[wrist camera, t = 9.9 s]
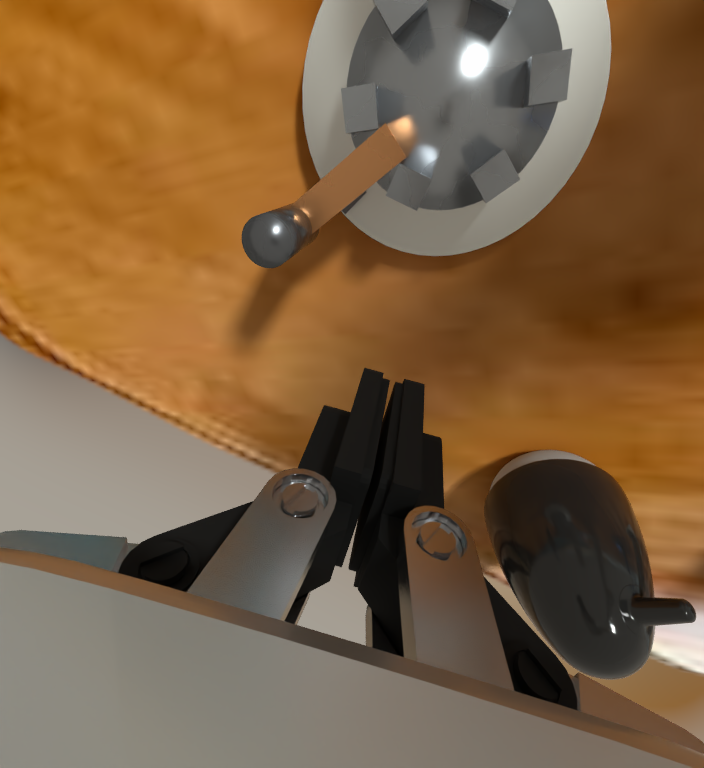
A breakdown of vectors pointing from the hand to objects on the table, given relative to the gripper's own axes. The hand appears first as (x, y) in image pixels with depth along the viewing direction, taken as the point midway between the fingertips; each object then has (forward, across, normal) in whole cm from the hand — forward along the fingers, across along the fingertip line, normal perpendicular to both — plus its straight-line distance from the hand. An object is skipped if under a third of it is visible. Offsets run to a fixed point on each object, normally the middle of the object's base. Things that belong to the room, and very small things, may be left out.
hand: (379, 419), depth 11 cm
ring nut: (+18, +2, -6) cm, 19 cm away
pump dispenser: (+19, -16, +15) cm, 29 cm away
